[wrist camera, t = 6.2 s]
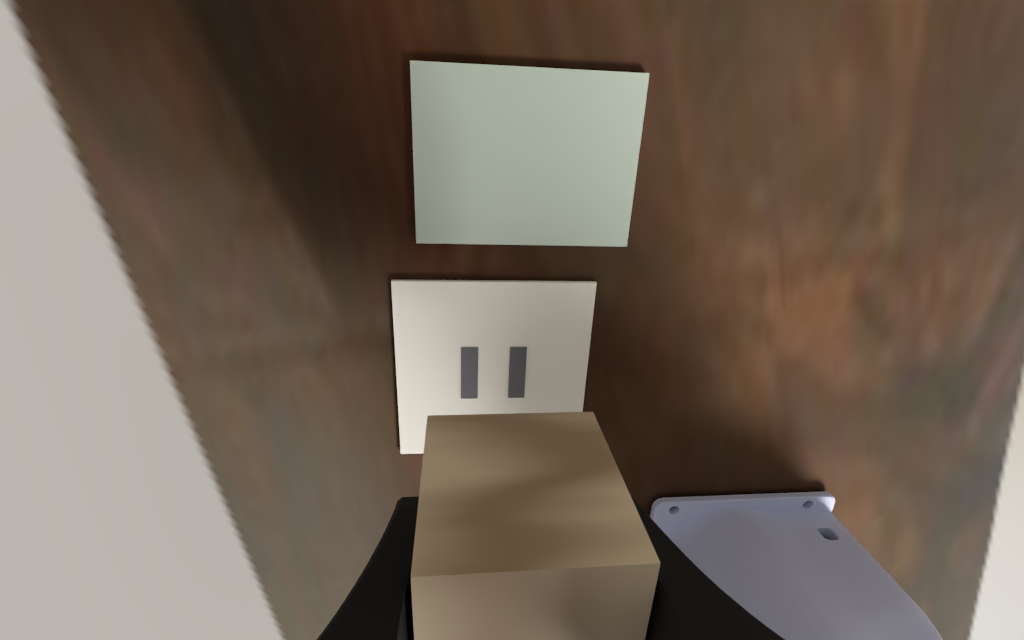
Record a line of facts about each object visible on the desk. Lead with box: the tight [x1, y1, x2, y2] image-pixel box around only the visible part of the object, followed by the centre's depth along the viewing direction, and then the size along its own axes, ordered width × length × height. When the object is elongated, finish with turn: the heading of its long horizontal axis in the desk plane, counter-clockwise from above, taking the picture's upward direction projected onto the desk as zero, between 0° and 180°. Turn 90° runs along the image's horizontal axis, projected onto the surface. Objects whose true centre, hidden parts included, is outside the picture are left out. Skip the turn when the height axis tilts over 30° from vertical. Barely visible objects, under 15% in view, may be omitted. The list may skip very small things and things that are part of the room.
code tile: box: [391, 279, 597, 454], centre depth 21 cm, size 8×8×1 cm
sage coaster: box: [410, 60, 650, 247], centre depth 18 cm, size 8×6×1 cm
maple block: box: [411, 412, 661, 640], centre depth 12 cm, size 4×4×5 cm
